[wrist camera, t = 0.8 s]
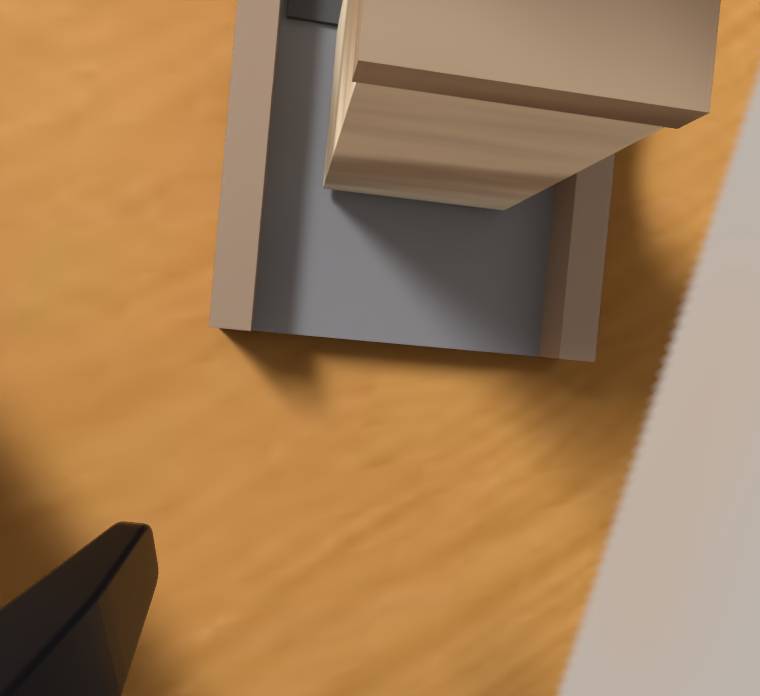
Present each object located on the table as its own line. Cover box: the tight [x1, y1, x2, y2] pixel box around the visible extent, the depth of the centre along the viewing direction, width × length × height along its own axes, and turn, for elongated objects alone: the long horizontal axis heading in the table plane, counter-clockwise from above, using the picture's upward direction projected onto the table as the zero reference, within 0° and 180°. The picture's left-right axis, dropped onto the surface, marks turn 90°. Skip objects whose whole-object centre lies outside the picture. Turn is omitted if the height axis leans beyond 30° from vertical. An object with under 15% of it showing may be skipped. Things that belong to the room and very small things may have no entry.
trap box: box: [209, 0, 615, 362], centre depth 22 cm, size 21×12×5 cm, turn 175°
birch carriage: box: [323, 0, 721, 210], centre depth 17 cm, size 5×6×11 cm
